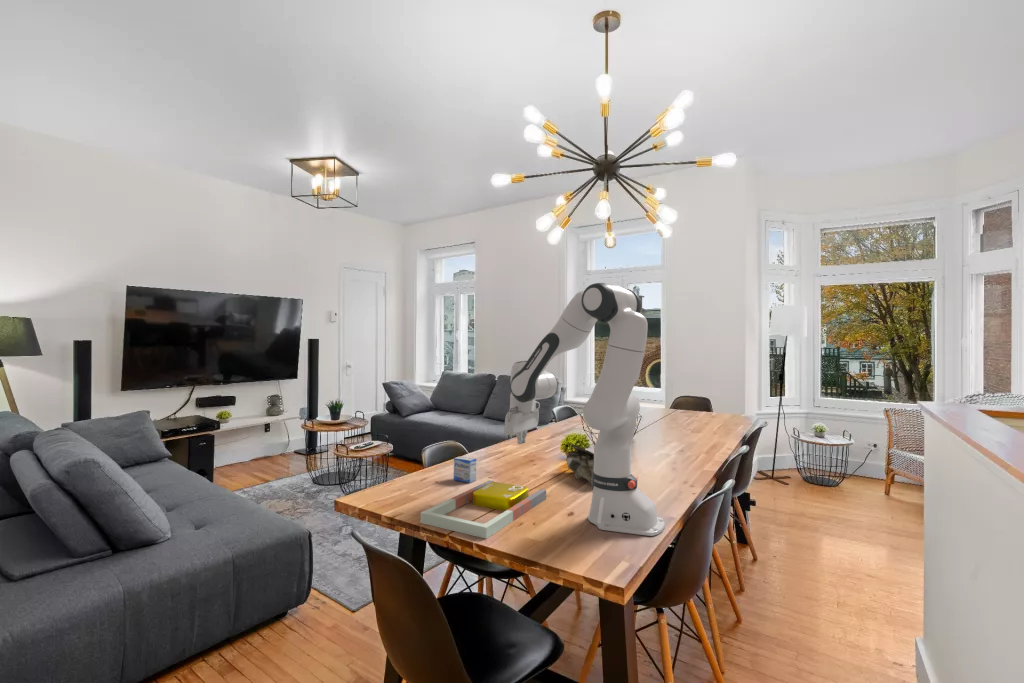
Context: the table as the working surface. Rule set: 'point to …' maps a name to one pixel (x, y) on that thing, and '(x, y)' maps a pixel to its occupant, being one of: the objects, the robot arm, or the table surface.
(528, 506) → the trap track
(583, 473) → the hollow geode rock
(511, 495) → the element tile
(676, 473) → the table surface
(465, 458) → the medicine box
